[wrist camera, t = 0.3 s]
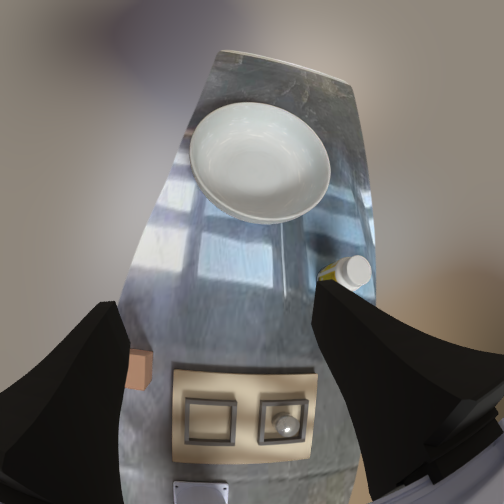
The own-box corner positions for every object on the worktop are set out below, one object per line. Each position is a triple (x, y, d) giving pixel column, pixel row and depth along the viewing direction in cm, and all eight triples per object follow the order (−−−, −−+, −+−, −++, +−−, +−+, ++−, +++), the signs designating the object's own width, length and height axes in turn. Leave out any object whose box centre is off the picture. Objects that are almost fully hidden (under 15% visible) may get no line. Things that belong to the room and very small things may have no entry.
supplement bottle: (338, 301, 42) (369, 294, 34) (312, 290, 42) (340, 280, 34) (345, 273, 44) (376, 260, 36) (321, 261, 43) (349, 246, 35)
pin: (290, 429, 34) (298, 436, 32) (270, 430, 34) (277, 437, 31) (292, 411, 35) (300, 416, 32) (272, 412, 35) (278, 417, 32)
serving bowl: (328, 165, 49) (346, 144, 43) (282, 262, 42) (300, 250, 35) (229, 110, 48) (236, 83, 41) (161, 193, 41) (158, 169, 34)
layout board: (307, 455, 34) (312, 460, 32) (172, 458, 31) (172, 465, 28) (314, 373, 38) (321, 375, 36) (174, 368, 34) (173, 371, 32)
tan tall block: (151, 380, 33) (144, 390, 27) (123, 375, 33) (110, 385, 26) (152, 351, 34) (145, 356, 28) (124, 347, 34) (111, 351, 27)
